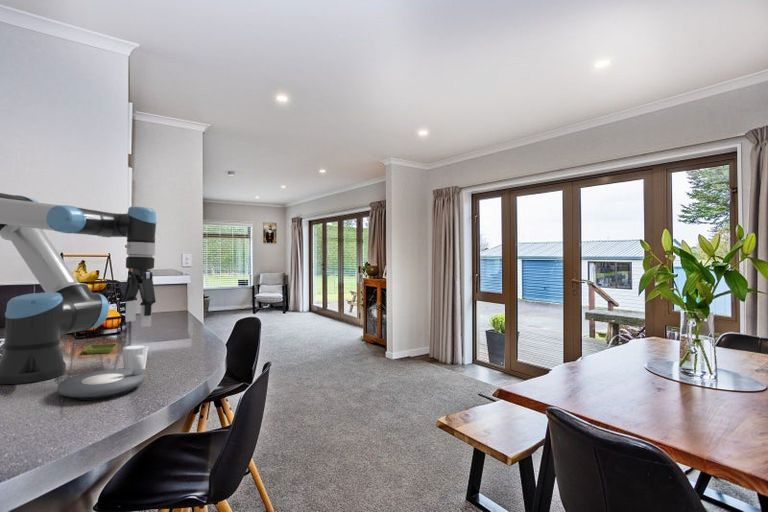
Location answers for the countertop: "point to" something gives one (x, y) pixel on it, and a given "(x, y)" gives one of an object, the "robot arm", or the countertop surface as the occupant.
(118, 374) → the disc
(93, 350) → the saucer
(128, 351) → the white cup
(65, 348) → the countertop surface
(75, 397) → the base
